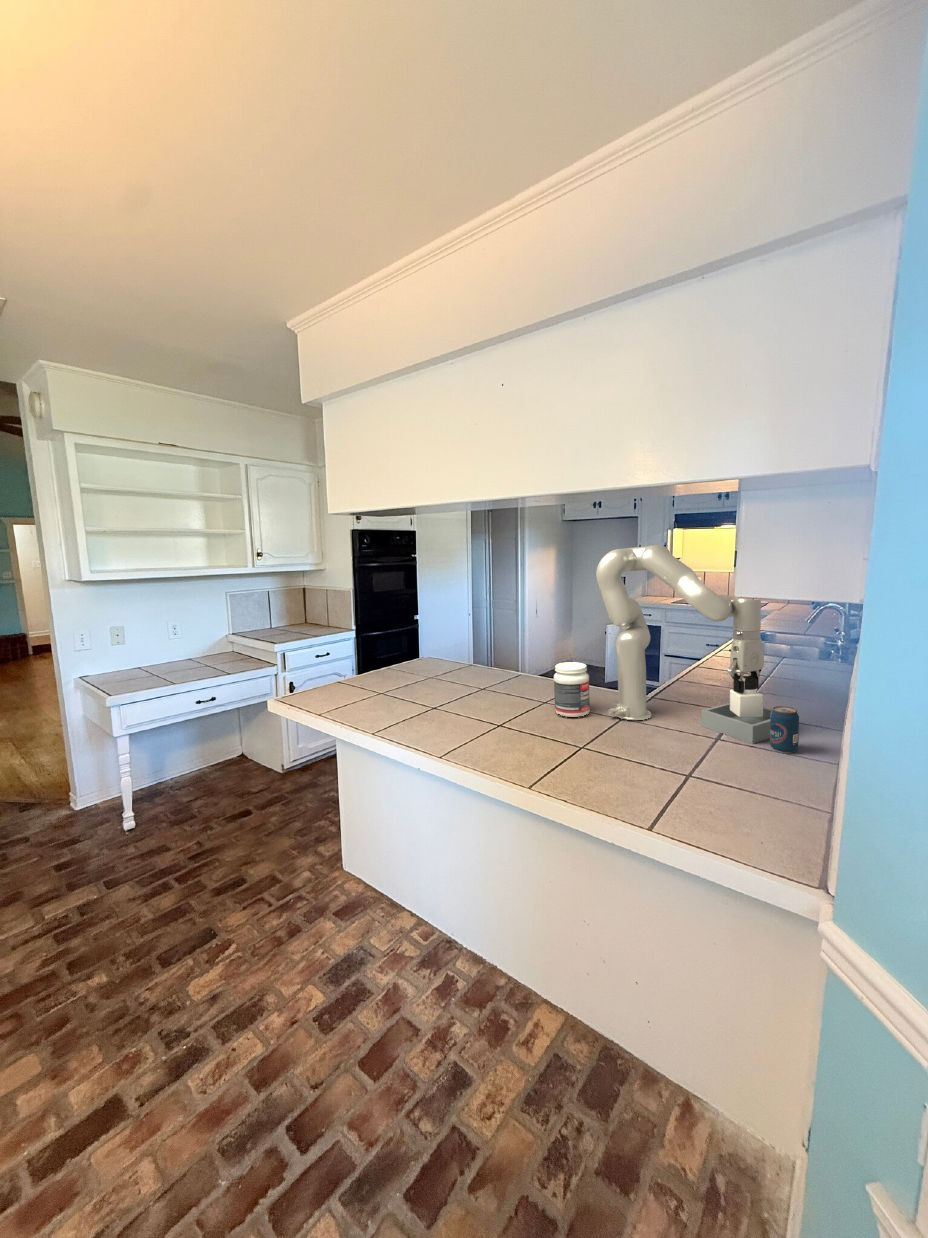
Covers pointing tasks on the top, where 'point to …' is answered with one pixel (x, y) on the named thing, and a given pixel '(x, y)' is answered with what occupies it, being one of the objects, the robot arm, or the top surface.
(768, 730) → the bin
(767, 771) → the top surface
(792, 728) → the soda can
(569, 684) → the supplement tub
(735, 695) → the medicine bottle
